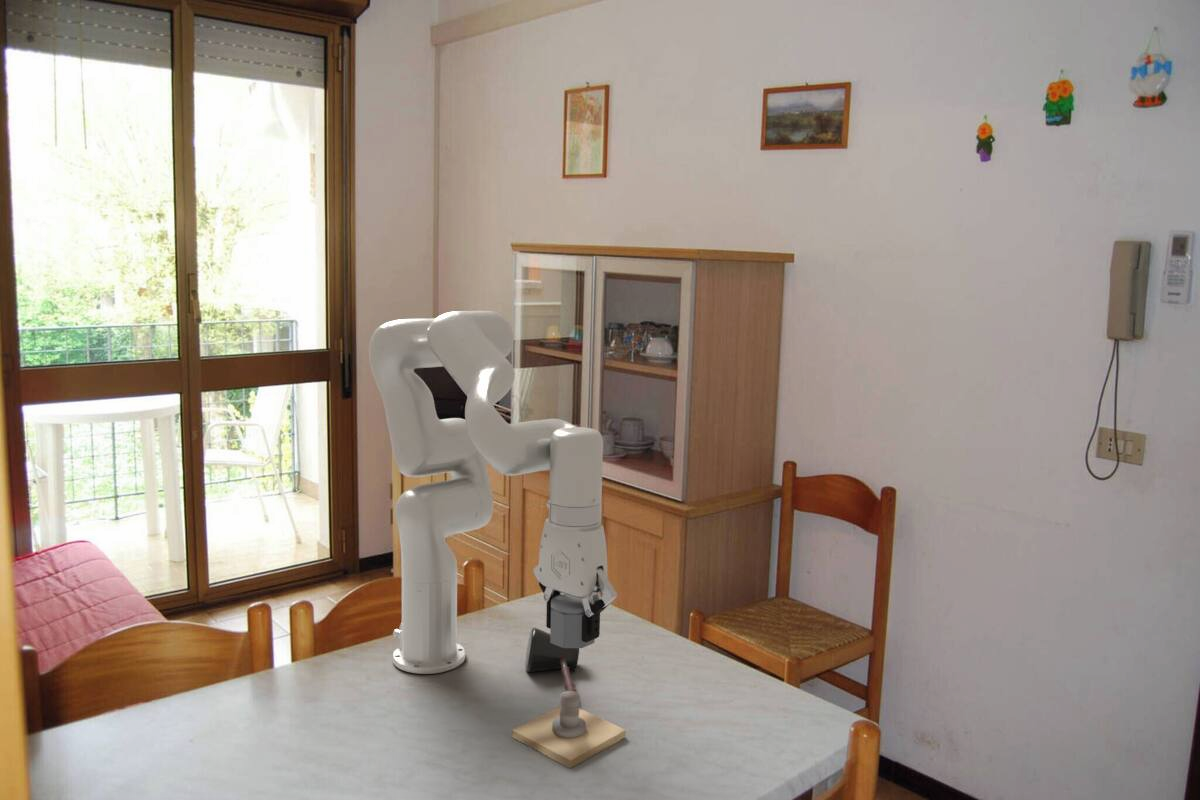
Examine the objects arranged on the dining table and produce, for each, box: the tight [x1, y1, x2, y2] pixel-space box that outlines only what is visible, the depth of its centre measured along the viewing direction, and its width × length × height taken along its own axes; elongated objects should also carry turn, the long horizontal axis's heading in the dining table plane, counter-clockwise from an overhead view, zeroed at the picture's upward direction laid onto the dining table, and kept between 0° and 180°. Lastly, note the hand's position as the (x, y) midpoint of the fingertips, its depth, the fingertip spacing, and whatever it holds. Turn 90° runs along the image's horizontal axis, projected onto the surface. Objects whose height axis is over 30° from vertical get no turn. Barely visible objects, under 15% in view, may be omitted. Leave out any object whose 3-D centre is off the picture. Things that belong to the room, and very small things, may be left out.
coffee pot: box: [524, 627, 580, 693], centre depth 156 cm, size 8×18×8 cm
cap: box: [549, 593, 596, 649], centre depth 135 cm, size 6×6×6 cm
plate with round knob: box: [511, 690, 627, 769], centre depth 137 cm, size 12×12×7 cm
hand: (572, 631), depth 135 cm, fingers closed on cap, 6 cm apart
